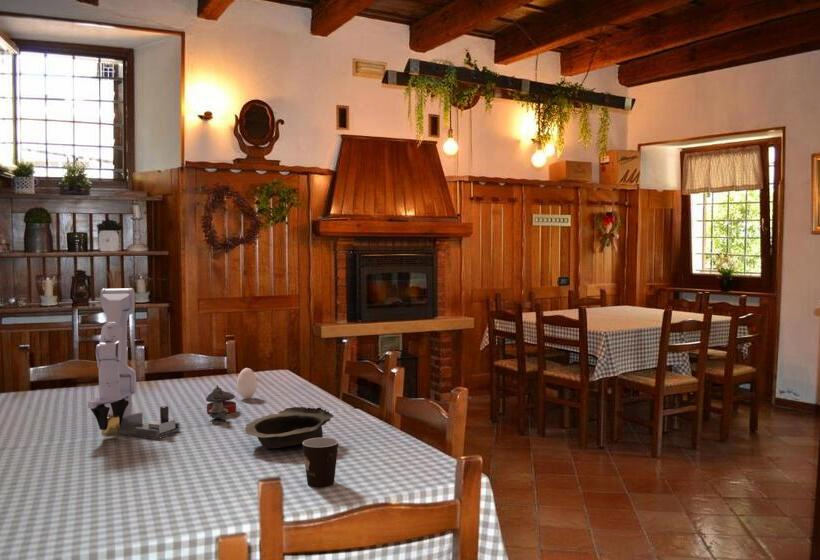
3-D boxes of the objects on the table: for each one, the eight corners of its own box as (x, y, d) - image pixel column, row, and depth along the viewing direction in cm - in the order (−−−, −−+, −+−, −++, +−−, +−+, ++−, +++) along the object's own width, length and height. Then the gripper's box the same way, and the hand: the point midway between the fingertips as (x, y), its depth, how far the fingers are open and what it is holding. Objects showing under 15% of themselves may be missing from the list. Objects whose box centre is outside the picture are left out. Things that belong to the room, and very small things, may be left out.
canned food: (207, 427, 242) (193, 402, 242) (225, 418, 251) (212, 393, 251) (230, 415, 237) (216, 389, 238) (247, 406, 246) (234, 380, 247)
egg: (261, 398, 267) (261, 367, 267) (247, 401, 261) (246, 370, 261) (247, 395, 271) (246, 365, 271) (232, 399, 265) (232, 368, 265)
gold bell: (97, 434, 209) (97, 414, 208) (110, 430, 213) (110, 411, 213) (110, 436, 207) (110, 416, 206) (123, 432, 211) (123, 412, 211)
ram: (148, 432, 213) (148, 408, 212) (165, 427, 219) (164, 403, 219) (159, 433, 211) (159, 409, 211) (175, 428, 218) (175, 405, 217)
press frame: (114, 433, 216) (114, 419, 216) (138, 426, 225) (138, 412, 225) (156, 439, 210) (156, 424, 209) (179, 431, 219) (179, 416, 219)
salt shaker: (222, 423, 228) (221, 387, 228) (205, 422, 229) (204, 386, 229) (230, 419, 234) (229, 383, 233) (214, 418, 235) (213, 383, 235)
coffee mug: (304, 478, 173) (303, 438, 173) (339, 476, 174) (338, 437, 174) (300, 494, 162) (300, 451, 161) (338, 493, 163) (337, 450, 162)
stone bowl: (345, 436, 211) (344, 406, 210) (307, 467, 188) (306, 433, 187) (273, 428, 219) (271, 399, 218) (227, 457, 196) (225, 425, 195)
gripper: (100, 387, 201) (101, 434, 202) (137, 378, 214) (138, 422, 215) (81, 385, 204) (83, 432, 204) (120, 377, 217) (121, 420, 218)
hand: (110, 427), depth 210 cm, fingers closed on gold bell, 5 cm apart
